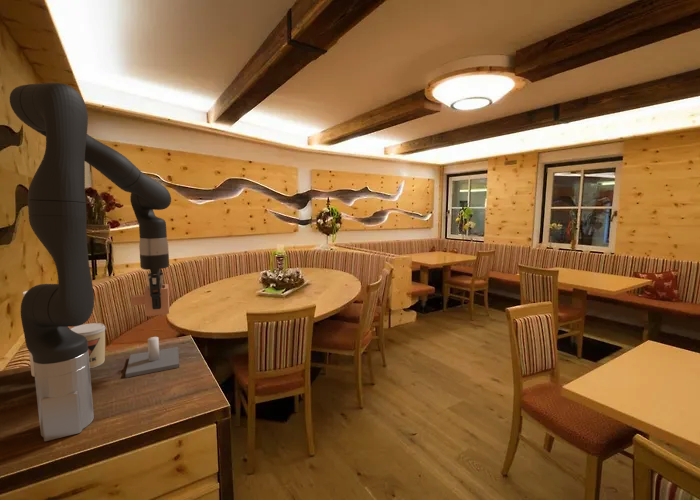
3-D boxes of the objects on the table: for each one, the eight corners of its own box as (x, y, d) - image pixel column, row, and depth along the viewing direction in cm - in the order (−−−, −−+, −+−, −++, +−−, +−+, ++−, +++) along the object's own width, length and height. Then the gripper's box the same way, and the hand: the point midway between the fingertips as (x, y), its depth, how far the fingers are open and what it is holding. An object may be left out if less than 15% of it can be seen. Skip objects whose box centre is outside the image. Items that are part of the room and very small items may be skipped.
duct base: (179, 367, 101) (178, 342, 100) (125, 377, 95) (123, 351, 94) (178, 350, 113) (177, 327, 112) (130, 358, 107) (129, 334, 106)
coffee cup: (64, 373, 96) (60, 335, 95) (77, 359, 105) (74, 324, 103) (102, 368, 100) (99, 331, 98) (111, 355, 108) (109, 321, 107)
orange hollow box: (169, 313, 99) (167, 288, 97) (131, 318, 94) (129, 291, 93) (169, 308, 104) (168, 284, 103) (134, 311, 99) (132, 286, 98)
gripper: (167, 255, 93) (170, 311, 95) (169, 248, 105) (171, 298, 108) (136, 256, 89) (140, 314, 91) (142, 249, 102) (145, 300, 104)
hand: (157, 305), depth 100 cm, fingers closed on orange hollow box, 6 cm apart
